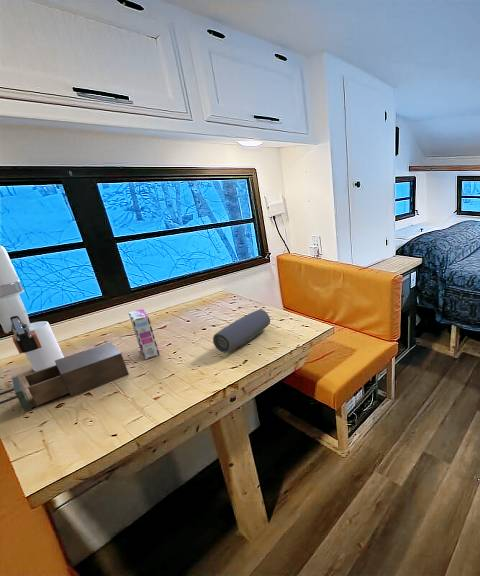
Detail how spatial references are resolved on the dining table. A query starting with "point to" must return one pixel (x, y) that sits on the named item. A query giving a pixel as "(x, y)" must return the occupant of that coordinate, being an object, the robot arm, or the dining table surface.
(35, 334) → the block
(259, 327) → the bluetooth speaker
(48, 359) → the cup
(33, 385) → the drawer
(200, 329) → the dining table surface
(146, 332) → the candy bar box
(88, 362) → the cabinet
